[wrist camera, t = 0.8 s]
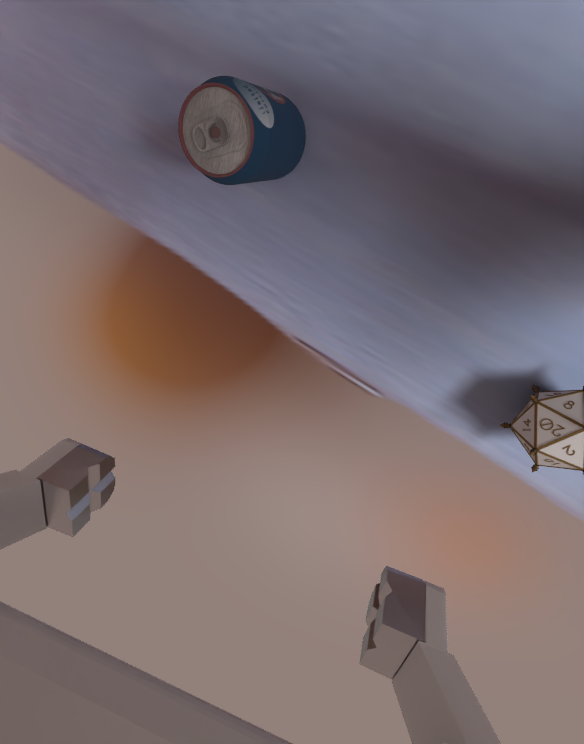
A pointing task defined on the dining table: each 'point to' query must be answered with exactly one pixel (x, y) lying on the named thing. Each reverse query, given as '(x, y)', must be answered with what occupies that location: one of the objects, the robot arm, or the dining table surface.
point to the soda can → (240, 131)
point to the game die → (552, 429)
